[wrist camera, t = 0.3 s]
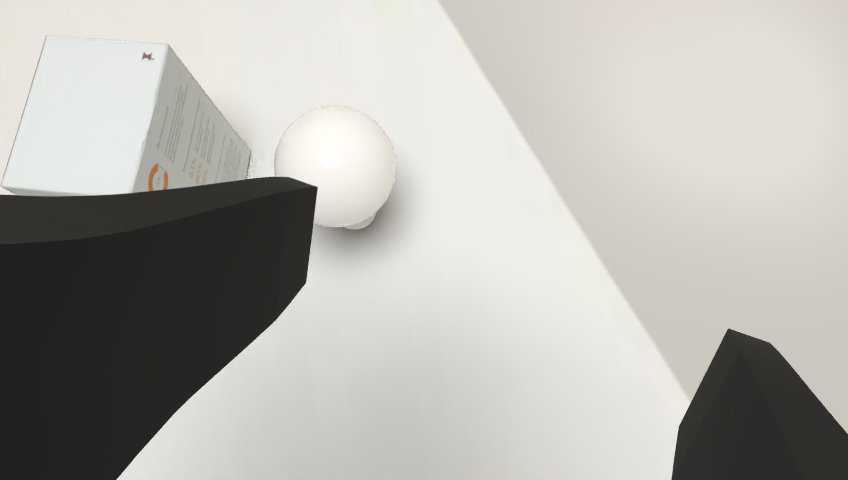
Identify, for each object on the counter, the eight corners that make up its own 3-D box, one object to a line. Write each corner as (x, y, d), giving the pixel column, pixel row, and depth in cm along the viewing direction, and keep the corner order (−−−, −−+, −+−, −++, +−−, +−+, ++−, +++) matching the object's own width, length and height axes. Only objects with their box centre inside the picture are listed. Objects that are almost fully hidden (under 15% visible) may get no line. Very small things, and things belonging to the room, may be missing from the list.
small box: (161, 141, 44) (44, 29, 31) (253, 150, 43) (171, 40, 31) (133, 257, 42) (-5, 187, 29) (229, 268, 41) (130, 201, 29)
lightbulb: (366, 280, 40) (336, 230, 30) (288, 224, 42) (231, 157, 31) (426, 200, 42) (416, 126, 31) (347, 149, 43) (313, 60, 32)
